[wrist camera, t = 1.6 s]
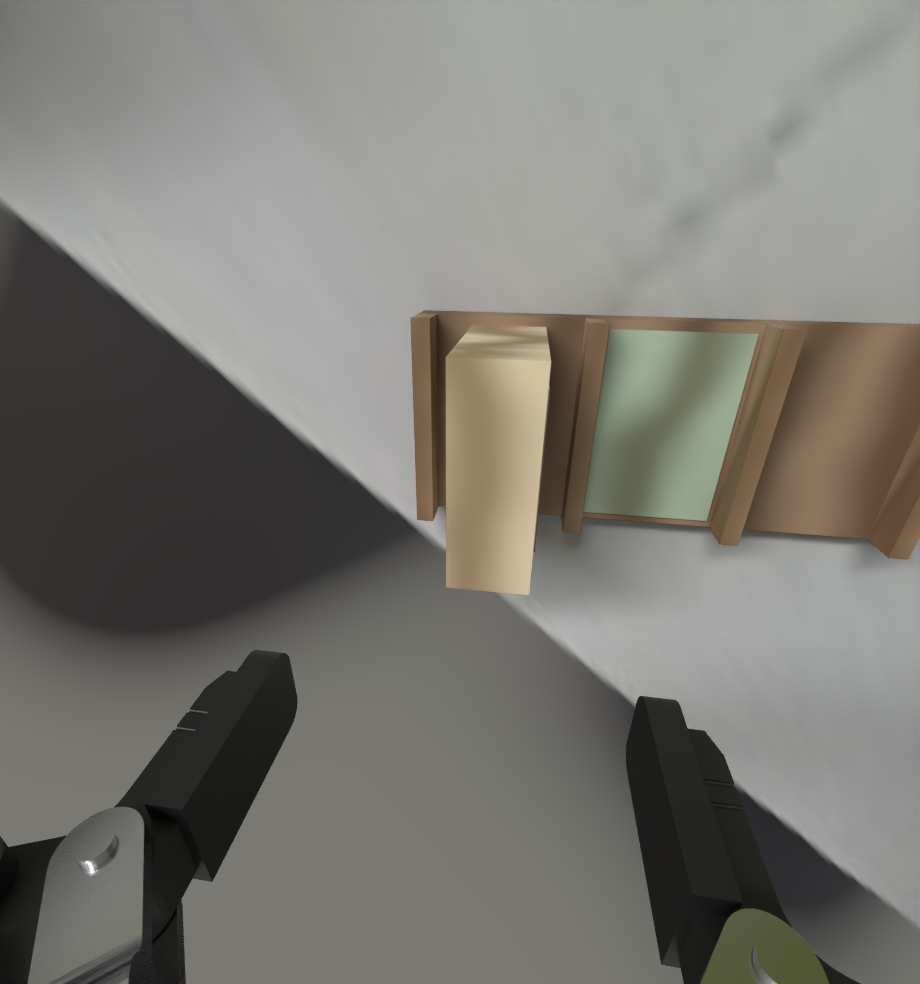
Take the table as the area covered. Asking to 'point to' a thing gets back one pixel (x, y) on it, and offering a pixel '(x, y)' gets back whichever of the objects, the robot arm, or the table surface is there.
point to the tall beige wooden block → (495, 455)
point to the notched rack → (708, 423)
